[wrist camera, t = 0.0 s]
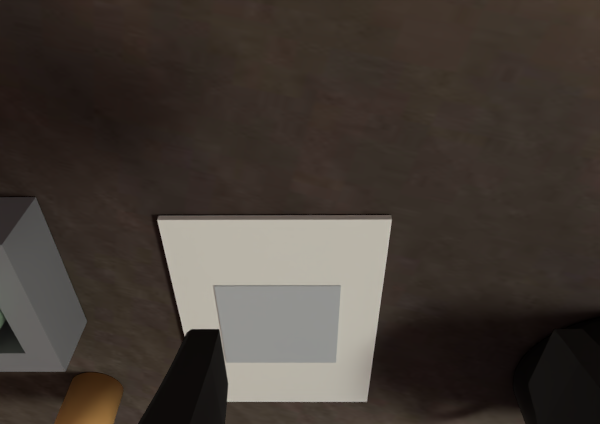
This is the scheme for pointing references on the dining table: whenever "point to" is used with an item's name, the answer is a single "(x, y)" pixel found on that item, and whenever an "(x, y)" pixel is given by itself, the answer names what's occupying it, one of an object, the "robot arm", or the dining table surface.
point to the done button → (2, 318)
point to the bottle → (91, 400)
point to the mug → (524, 371)
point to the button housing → (34, 293)
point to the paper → (283, 299)
